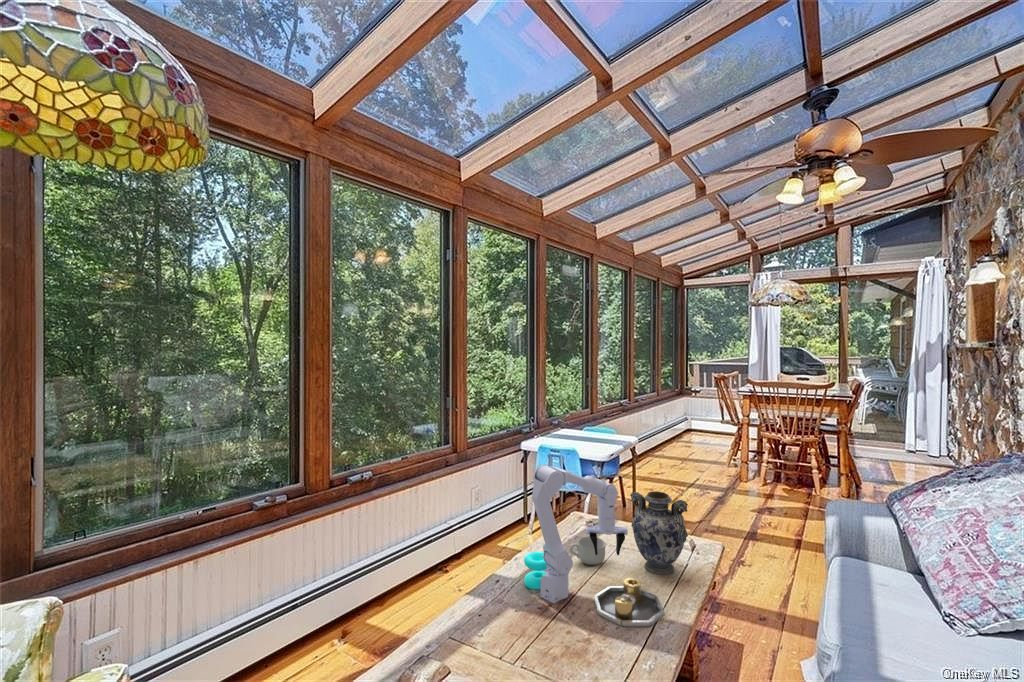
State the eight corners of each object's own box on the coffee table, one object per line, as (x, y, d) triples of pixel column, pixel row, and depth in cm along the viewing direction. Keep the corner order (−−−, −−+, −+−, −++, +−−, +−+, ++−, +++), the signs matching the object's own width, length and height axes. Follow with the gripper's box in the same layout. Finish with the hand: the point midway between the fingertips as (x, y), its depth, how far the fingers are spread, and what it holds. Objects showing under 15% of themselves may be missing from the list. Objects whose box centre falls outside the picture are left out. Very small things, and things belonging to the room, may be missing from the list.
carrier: (639, 639, 136) (639, 616, 136) (581, 609, 151) (581, 589, 151) (674, 609, 151) (674, 589, 151) (618, 585, 166) (618, 566, 166)
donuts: (536, 566, 160) (518, 555, 168) (536, 595, 160) (518, 583, 168) (558, 557, 166) (539, 547, 174) (558, 586, 166) (540, 574, 174)
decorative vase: (693, 563, 181) (692, 491, 180) (684, 586, 165) (682, 507, 164) (638, 551, 192) (636, 483, 191) (624, 572, 176) (622, 497, 175)
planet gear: (622, 599, 155) (622, 584, 155) (626, 591, 160) (626, 576, 160) (638, 603, 153) (638, 587, 153) (641, 595, 158) (641, 580, 158)
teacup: (604, 556, 188) (604, 536, 188) (607, 569, 178) (606, 548, 178) (569, 555, 190) (569, 535, 190) (570, 568, 179) (569, 547, 179)
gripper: (587, 520, 165) (587, 558, 165) (629, 520, 164) (629, 559, 164) (585, 512, 172) (585, 549, 172) (625, 513, 171) (625, 550, 171)
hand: (606, 553), depth 169 cm, fingers open, 7 cm apart
